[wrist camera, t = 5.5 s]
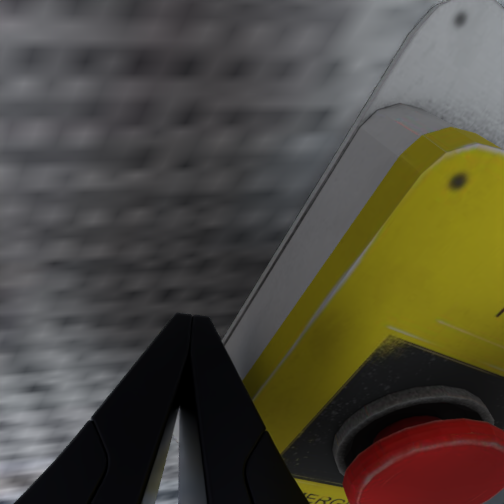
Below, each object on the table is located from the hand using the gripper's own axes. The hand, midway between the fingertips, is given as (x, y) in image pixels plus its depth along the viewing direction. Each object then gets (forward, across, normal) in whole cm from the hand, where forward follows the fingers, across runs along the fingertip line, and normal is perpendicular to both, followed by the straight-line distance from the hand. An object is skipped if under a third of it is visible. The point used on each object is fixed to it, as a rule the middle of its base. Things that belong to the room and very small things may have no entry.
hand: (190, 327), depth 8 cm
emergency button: (+2, -6, 0) cm, 6 cm away
